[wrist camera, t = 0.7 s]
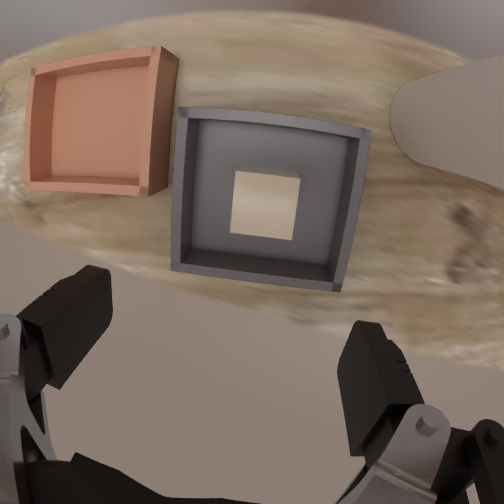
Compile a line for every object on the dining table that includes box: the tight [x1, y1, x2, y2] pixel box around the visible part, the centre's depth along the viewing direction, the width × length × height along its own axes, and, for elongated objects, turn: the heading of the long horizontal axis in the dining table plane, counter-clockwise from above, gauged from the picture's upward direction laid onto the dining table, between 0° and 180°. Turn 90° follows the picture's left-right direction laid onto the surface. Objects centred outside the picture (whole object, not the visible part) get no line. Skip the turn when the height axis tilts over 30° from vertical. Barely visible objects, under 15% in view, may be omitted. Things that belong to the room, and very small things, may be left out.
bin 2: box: [171, 107, 372, 292], centre depth 24 cm, size 14×13×4 cm
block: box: [230, 165, 301, 240], centre depth 23 cm, size 4×4×5 cm
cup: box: [390, 54, 504, 189], centre depth 15 cm, size 8×8×16 cm
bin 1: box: [25, 46, 179, 197], centre depth 23 cm, size 14×12×4 cm
